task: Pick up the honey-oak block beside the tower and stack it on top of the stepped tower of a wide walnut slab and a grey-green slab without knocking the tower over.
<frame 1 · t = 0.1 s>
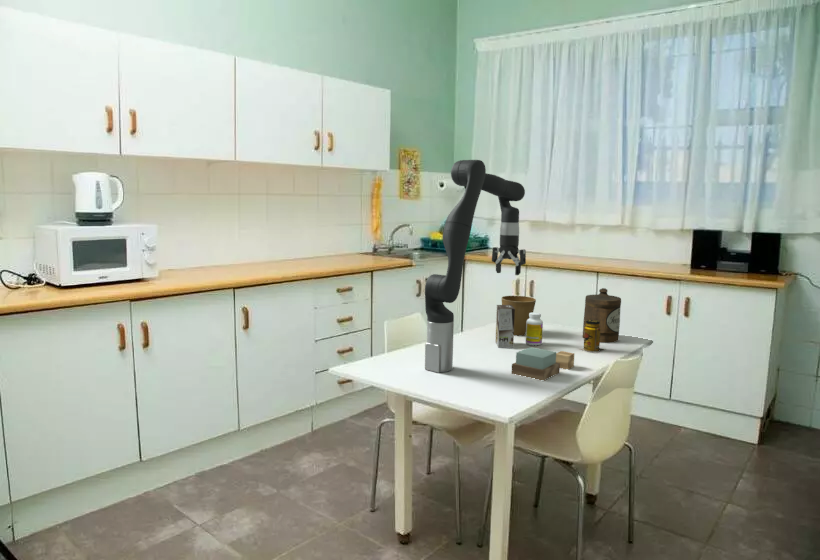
hand: (507, 274, 240), 29 cm above the table, tool pointing down, fingers open, 8 cm apart
condiment: (592, 350, 238), on the table
tower top slab: (535, 363, 205), point 3 cm above the table, touching tower bottom slab
oak block: (564, 367, 214), on the table
plant pot: (517, 334, 263), on the table
supplement bottle: (533, 344, 246), on the table
wooden container: (600, 339, 256), on the table
coffee box: (504, 345, 243), on the table
tower bottom slab: (535, 374, 206), on the table, touching tower top slab
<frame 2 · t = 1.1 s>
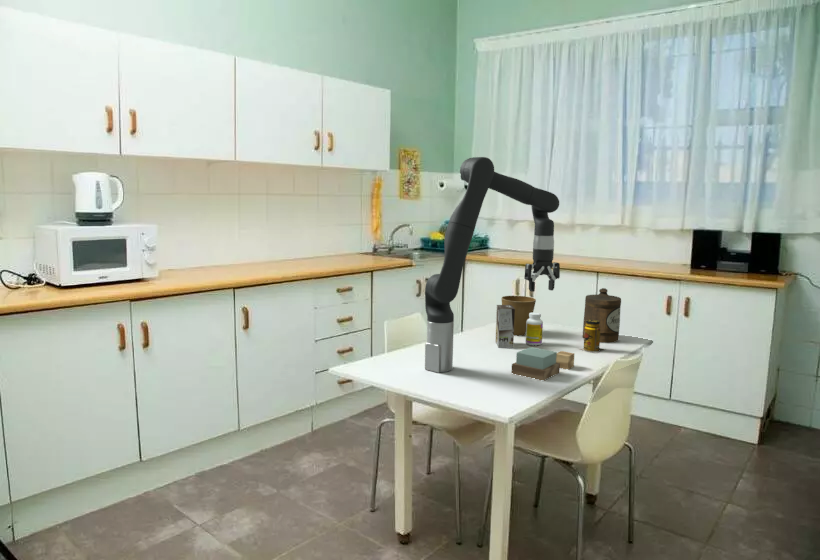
hand: (541, 290, 223), 25 cm above the table, tool pointing down, fingers open, 8 cm apart
nothing on the table moved.
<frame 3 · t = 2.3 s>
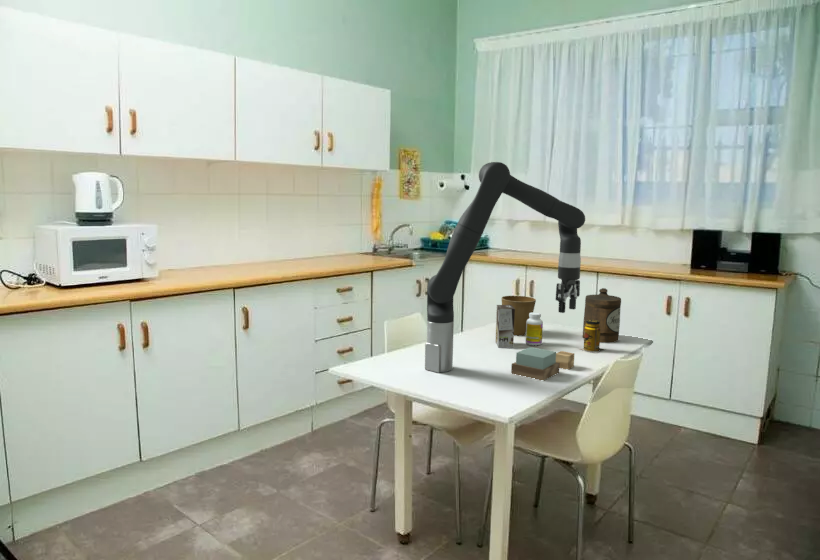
hand: (567, 310, 211), 20 cm above the table, tool pointing down, fingers open, 8 cm apart
nothing on the table moved.
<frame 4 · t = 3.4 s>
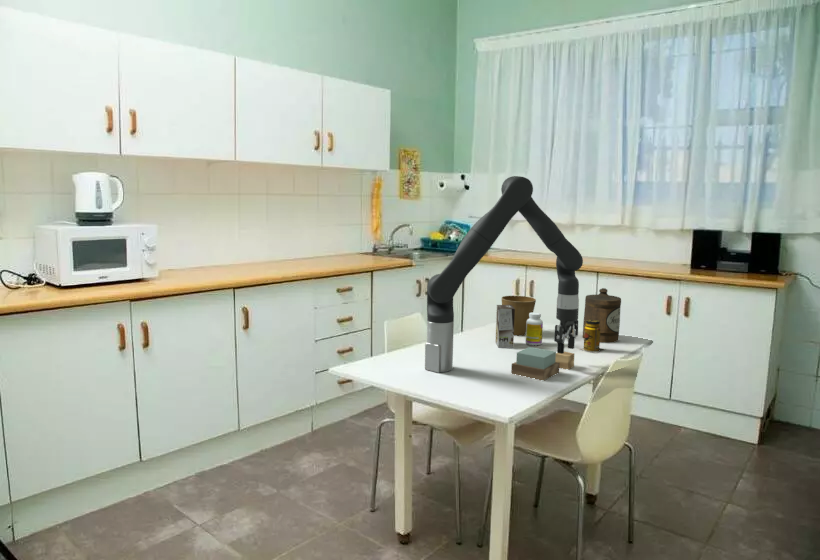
hand: (565, 350, 213), 6 cm above the table, tool pointing down, fingers open, 8 cm apart
nothing on the table moved.
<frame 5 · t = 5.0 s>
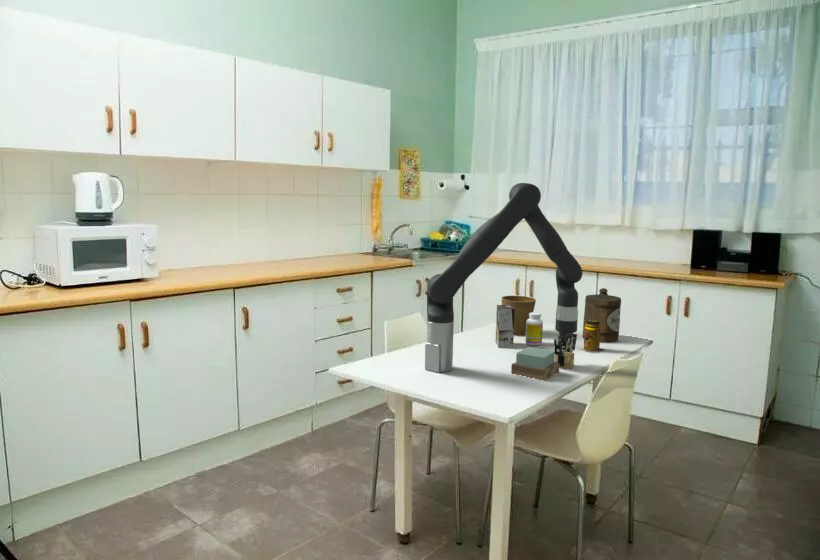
hand: (564, 364, 214), 1 cm above the table, tool pointing down, fingers closed on oak block, 5 cm apart
oak block: (564, 366, 214), on the table, touching gripper
everything else where it was.
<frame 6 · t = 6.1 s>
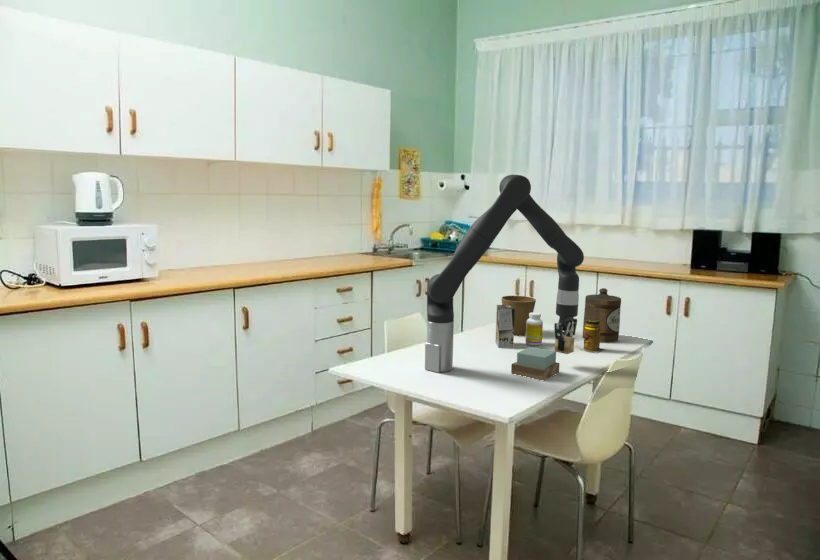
hand: (564, 348, 213), 7 cm above the table, tool pointing down, fingers closed on oak block, 5 cm apart
tower top slab: (536, 363, 205), point 4 cm above the table
oak block: (564, 351, 213), point 6 cm above the table, touching gripper
tower bottom slab: (535, 374, 206), on the table
everything else where it was.
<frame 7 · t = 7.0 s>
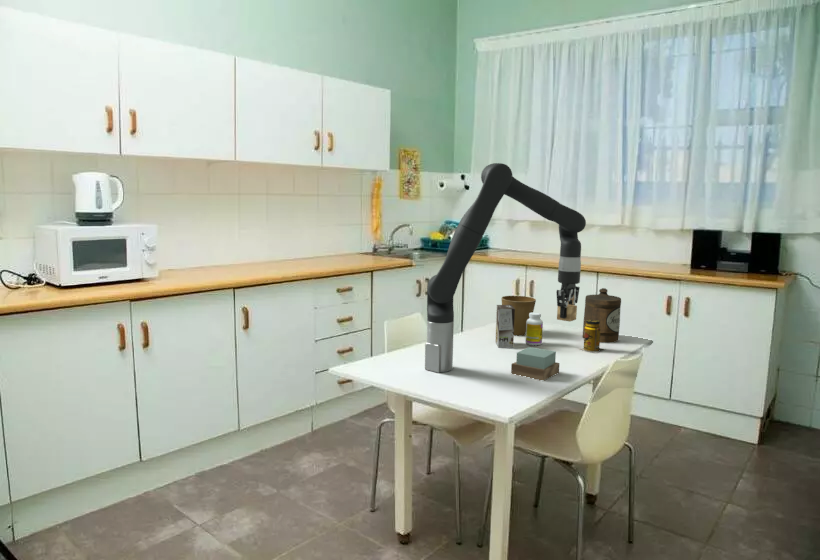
hand: (566, 316, 211), 18 cm above the table, tool pointing down, fingers closed on oak block, 5 cm apart
tower top slab: (535, 363, 205), point 3 cm above the table, touching tower bottom slab
oak block: (566, 319, 211), point 17 cm above the table, touching gripper
tower bottom slab: (535, 374, 206), on the table, touching tower top slab
everything else where it was.
when the fingers open (10 cm above the table, at t = 10.7 s): oak block drops 2 cm, resting on tower top slab.
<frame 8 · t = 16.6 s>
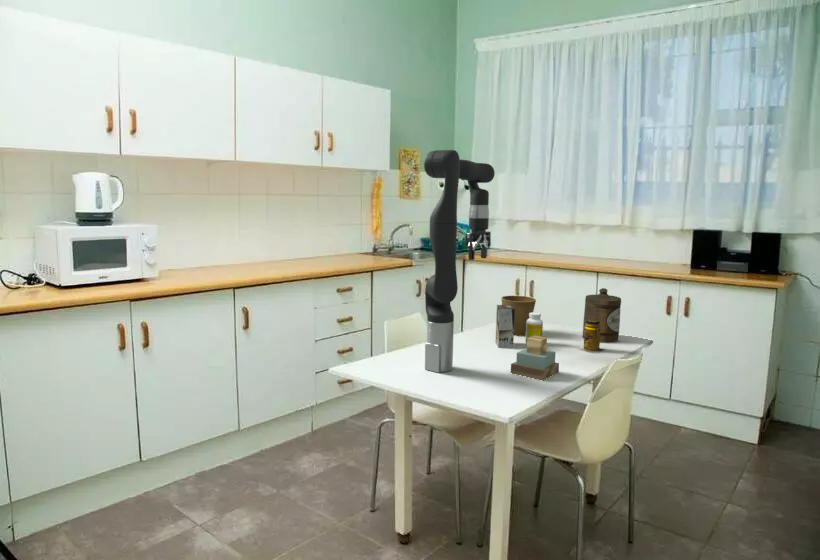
hand: (477, 259, 231), 36 cm above the table, tool pointing down, fingers open, 8 cm apart
tower top slab: (535, 363, 206), point 3 cm above the table, touching oak block, tower bottom slab
oak block: (536, 352, 205), point 7 cm above the table, touching tower top slab
everything else where it was.
at the end: oak block 0.3 cm off-centre on the tower bottom slab, point 8.0 cm above the tower bottom slab's base; oak block tilted 0°; tower top slab 0.4 cm off-centre on the tower bottom slab, point 4.0 cm above the tower bottom slab's base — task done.
